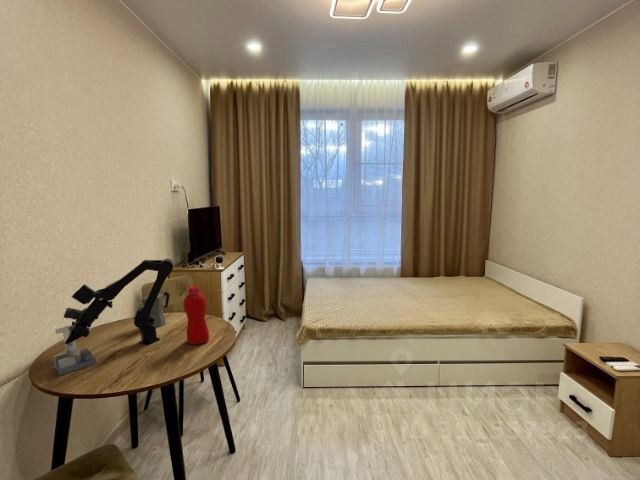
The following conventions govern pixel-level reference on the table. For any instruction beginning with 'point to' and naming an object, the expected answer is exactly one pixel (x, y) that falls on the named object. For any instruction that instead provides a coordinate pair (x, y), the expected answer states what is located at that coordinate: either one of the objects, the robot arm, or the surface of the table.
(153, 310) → the coffeepot
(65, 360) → the vise
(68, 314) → the robot arm
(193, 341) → the water bottle
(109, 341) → the table surface
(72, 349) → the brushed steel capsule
